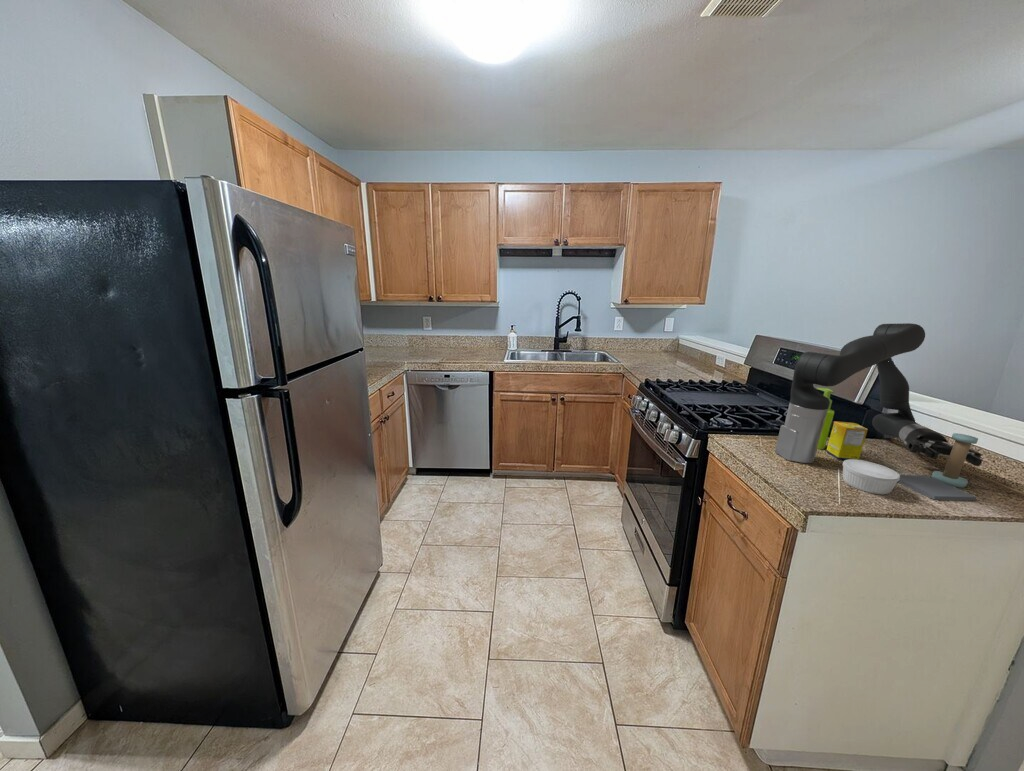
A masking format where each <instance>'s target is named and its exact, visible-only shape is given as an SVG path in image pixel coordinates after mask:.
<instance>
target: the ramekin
mask: <svg viewBox="0 0 1024 771" xmlns="http://www.w3.org/2000/svg"><path fill="white" fill-rule="evenodd" d="M900 475H901V474H899V472H897V471H895V470H893V469H892V468H889V467H887V466H885V465H881V464H880V463H875V462H871V461H868V460H864V459H859V460H857V459H849V460H843V462H842V479H843V482H845V483H846V484H847V485H849V486H851V487H853V488H855V489H857V490H860V491H863V492H865V493H869V494H870V493H871V494H874V495H886V494H889V493H891V492H892V491H893V489H894V487H895V486H896V485H897V483H898V482H897V481H899V480H900Z"/></svg>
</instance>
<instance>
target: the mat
mask: <svg viewBox="0 0 1024 771" xmlns="http://www.w3.org/2000/svg"><path fill="white" fill-rule="evenodd" d="M899 475H900V480H899V481H897V483H899V484H901V485H903V486H905V487H908V488H909V489H911V490H914V491H915V492H917V493H919V494H922V495H924V496H926V497H928V498H930V499H931V498H932V500H933V499H934V500H938V501H940V500H941V501H976V500H977V496H975V495H974V494H971V493H968V492H966V491H964V490H961V489H960V488H958V487H953V486H950V485H948V484H946V483H944V482H941V481H939V480H937V479H934V478H932V477H931V476H930V475H921V474H919V475H918V474H917V475H915V474H912V475H911V474H910V475H909V474H899ZM934 500H933V501H934Z"/></svg>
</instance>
